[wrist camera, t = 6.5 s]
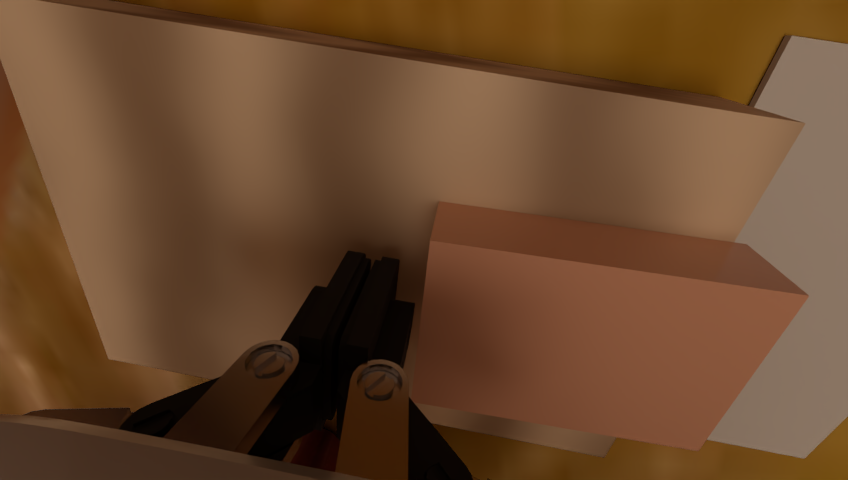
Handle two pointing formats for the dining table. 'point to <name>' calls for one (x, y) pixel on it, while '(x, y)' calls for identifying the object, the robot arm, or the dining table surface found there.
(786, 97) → the mat
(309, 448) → the plant pot
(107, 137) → the board
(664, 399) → the block
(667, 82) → the dining table surface
